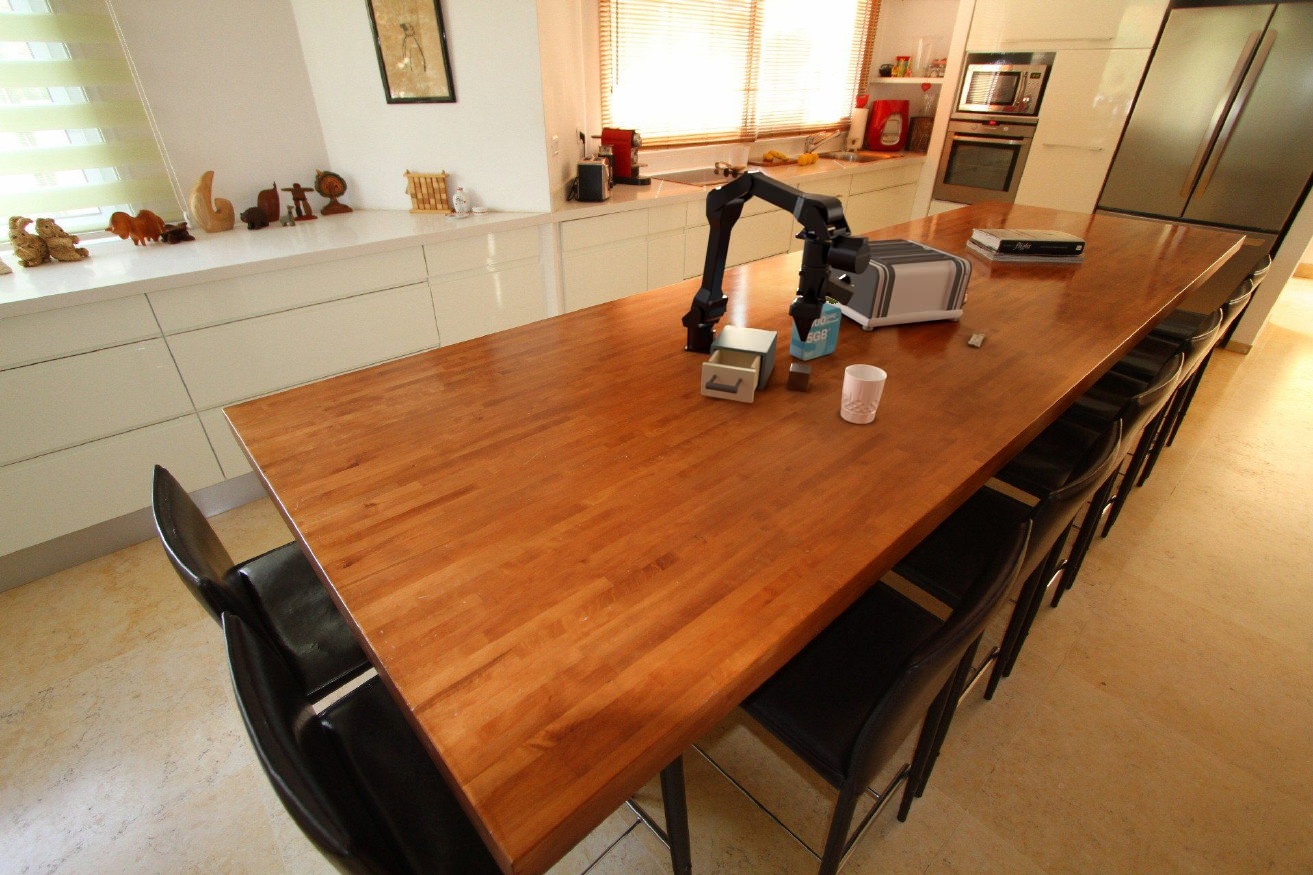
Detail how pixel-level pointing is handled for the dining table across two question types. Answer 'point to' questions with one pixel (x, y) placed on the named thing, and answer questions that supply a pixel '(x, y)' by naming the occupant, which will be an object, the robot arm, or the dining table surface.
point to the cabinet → (749, 346)
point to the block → (799, 377)
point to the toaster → (907, 285)
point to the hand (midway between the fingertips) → (805, 336)
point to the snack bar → (976, 340)
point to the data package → (818, 335)
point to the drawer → (731, 375)
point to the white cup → (861, 393)
